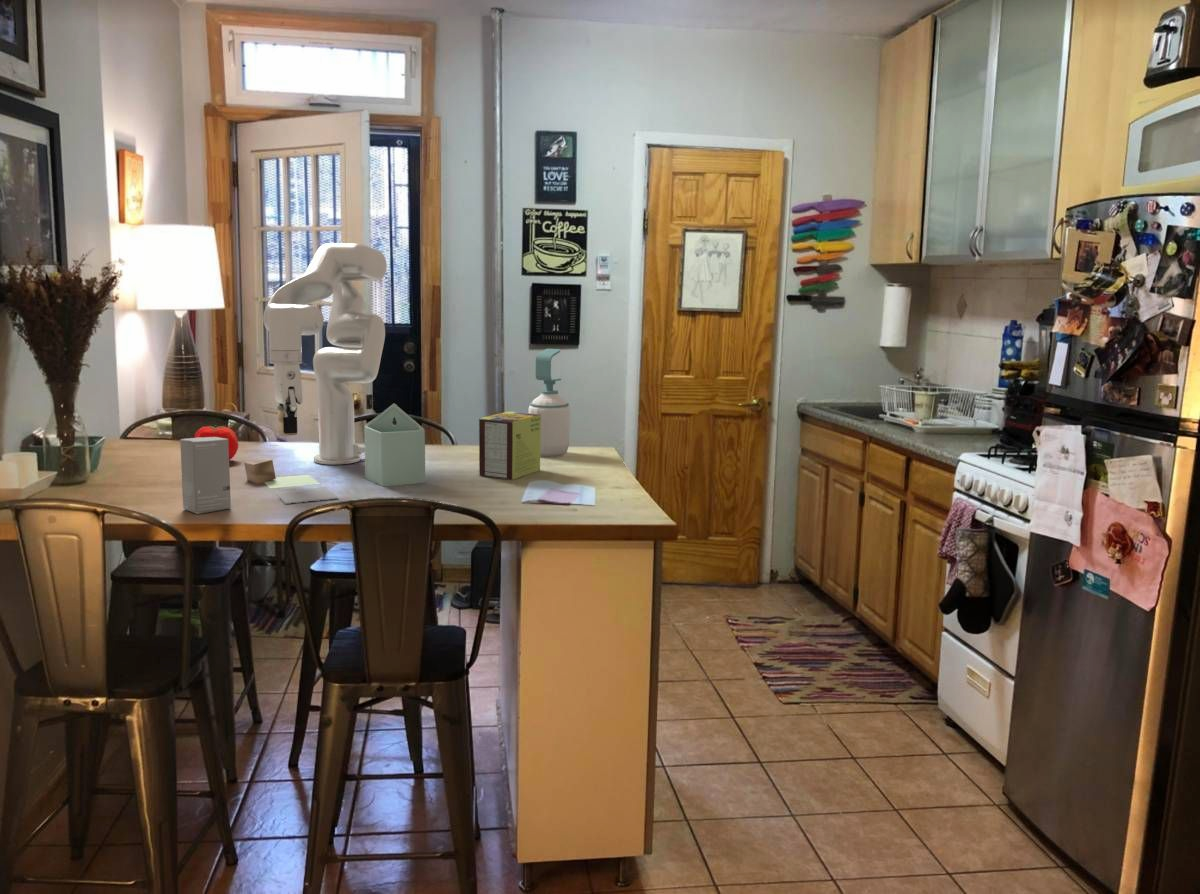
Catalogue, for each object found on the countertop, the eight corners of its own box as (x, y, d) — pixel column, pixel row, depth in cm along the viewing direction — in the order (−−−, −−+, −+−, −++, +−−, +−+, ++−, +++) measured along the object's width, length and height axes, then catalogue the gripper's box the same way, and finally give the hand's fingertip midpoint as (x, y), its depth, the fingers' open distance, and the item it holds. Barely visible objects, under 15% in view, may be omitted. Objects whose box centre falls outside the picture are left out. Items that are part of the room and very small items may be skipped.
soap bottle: (577, 453, 283) (579, 349, 277) (553, 460, 272) (555, 351, 267) (543, 449, 289) (545, 347, 283) (519, 454, 279) (520, 349, 273)
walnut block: (266, 476, 238) (263, 457, 237) (275, 479, 235) (272, 459, 234) (247, 481, 235) (244, 462, 234) (256, 484, 232) (253, 464, 230)
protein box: (540, 470, 258) (541, 414, 255) (512, 480, 244) (512, 421, 241) (507, 466, 262) (508, 410, 259) (477, 476, 248) (478, 417, 246)
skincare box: (196, 515, 202) (192, 442, 199) (181, 509, 207) (177, 438, 204) (233, 508, 208) (230, 438, 206) (218, 503, 213) (214, 433, 210)
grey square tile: (325, 488, 229) (324, 487, 229) (338, 499, 219) (338, 497, 219) (273, 493, 223) (273, 491, 223) (285, 504, 213) (285, 502, 213)
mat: (308, 476, 243) (308, 474, 243) (320, 485, 233) (320, 483, 233) (260, 480, 237) (260, 478, 237) (270, 490, 227) (270, 488, 227)
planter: (351, 484, 235) (350, 405, 232) (366, 477, 243) (364, 401, 239) (413, 488, 232) (412, 409, 228) (425, 482, 240) (425, 405, 236)
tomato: (183, 463, 254) (181, 426, 253) (215, 456, 265) (213, 420, 263) (217, 468, 250) (215, 429, 248) (248, 460, 261) (247, 424, 259)
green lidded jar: (295, 432, 235) (294, 404, 234) (299, 435, 232) (299, 406, 230) (276, 433, 233) (275, 405, 232) (280, 436, 229) (279, 407, 228)
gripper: (310, 359, 224) (312, 435, 227) (293, 354, 238) (295, 426, 241) (277, 360, 220) (279, 437, 223) (262, 354, 234) (265, 427, 238)
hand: (288, 430), depth 232 cm, fingers closed on green lidded jar, 4 cm apart
